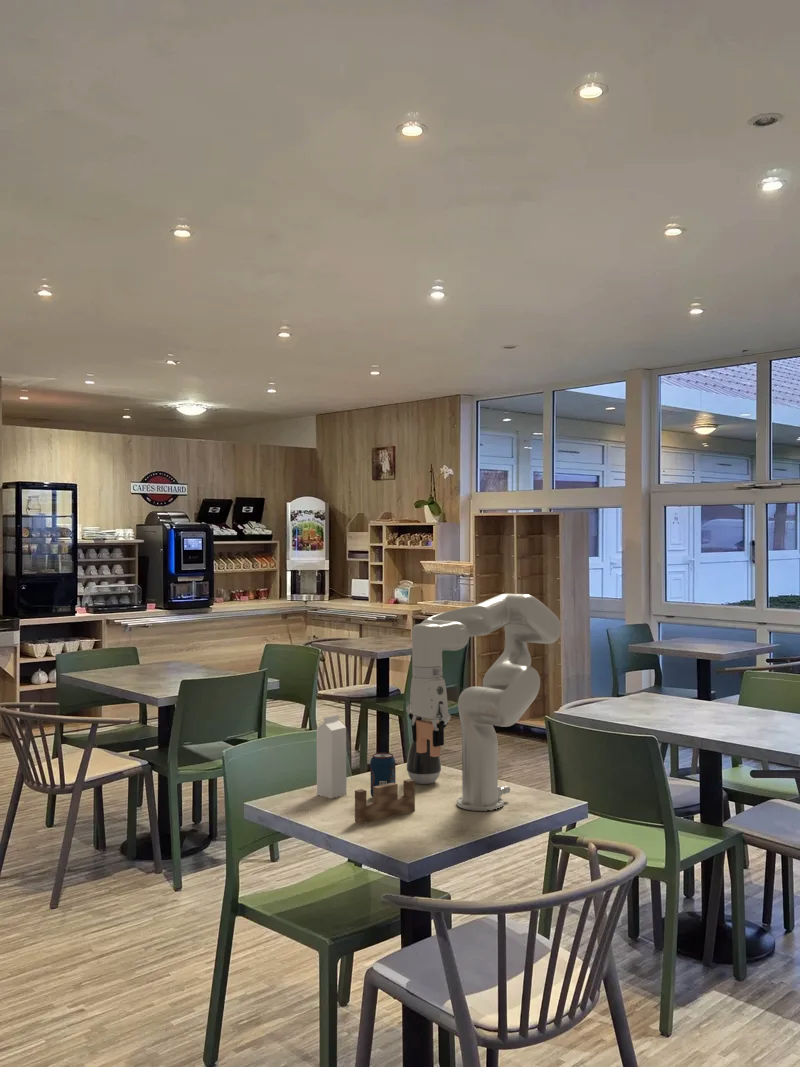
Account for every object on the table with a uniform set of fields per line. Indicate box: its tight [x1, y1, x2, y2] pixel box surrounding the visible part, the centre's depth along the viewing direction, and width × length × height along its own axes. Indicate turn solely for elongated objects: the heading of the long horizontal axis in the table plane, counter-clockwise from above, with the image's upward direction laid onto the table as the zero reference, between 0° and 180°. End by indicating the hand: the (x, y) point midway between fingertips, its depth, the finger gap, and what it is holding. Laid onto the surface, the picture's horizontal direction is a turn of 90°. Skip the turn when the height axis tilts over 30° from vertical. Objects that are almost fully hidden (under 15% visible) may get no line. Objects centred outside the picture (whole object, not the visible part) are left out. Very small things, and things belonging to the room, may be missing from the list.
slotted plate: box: [416, 719, 442, 757], centre depth 230 cm, size 2×7×8 cm, turn 39°
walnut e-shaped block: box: [354, 778, 416, 825], centre depth 235 cm, size 18×2×8 cm, turn 129°
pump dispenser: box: [406, 739, 442, 785], centre depth 269 cm, size 10×10×15 cm
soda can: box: [370, 752, 397, 799], centre depth 252 cm, size 7×7×12 cm
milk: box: [316, 714, 347, 799], centre depth 256 cm, size 6×6×22 cm
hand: (428, 742), depth 230 cm, fingers closed on slotted plate, 7 cm apart
